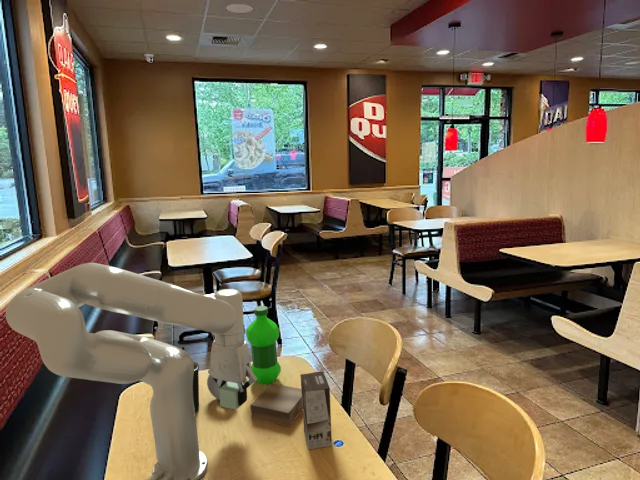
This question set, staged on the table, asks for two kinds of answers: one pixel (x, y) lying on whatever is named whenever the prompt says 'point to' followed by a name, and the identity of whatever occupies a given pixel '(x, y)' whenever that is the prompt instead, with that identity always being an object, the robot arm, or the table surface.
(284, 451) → the table surface
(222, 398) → the green block
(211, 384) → the donut
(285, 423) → the walnut plinth
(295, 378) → the table surface
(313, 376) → the coffee box
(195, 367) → the drinking cup
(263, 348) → the plastic bottle
